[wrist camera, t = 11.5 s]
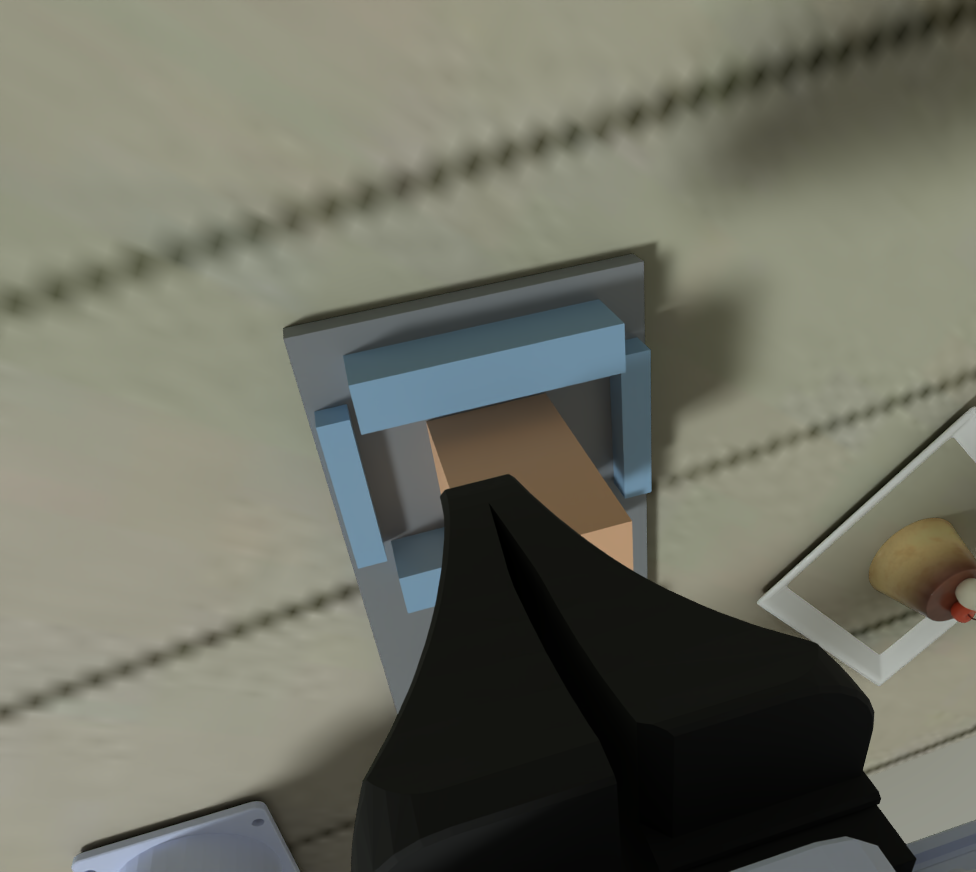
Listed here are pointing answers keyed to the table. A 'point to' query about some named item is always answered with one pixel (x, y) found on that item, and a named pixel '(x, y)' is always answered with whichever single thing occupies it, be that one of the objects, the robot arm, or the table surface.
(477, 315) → the grey fixture plate
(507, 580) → the robot arm
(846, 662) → the dessert
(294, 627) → the table surface
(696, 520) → the table surface
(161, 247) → the table surface
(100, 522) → the table surface
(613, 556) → the tan cardboard block
